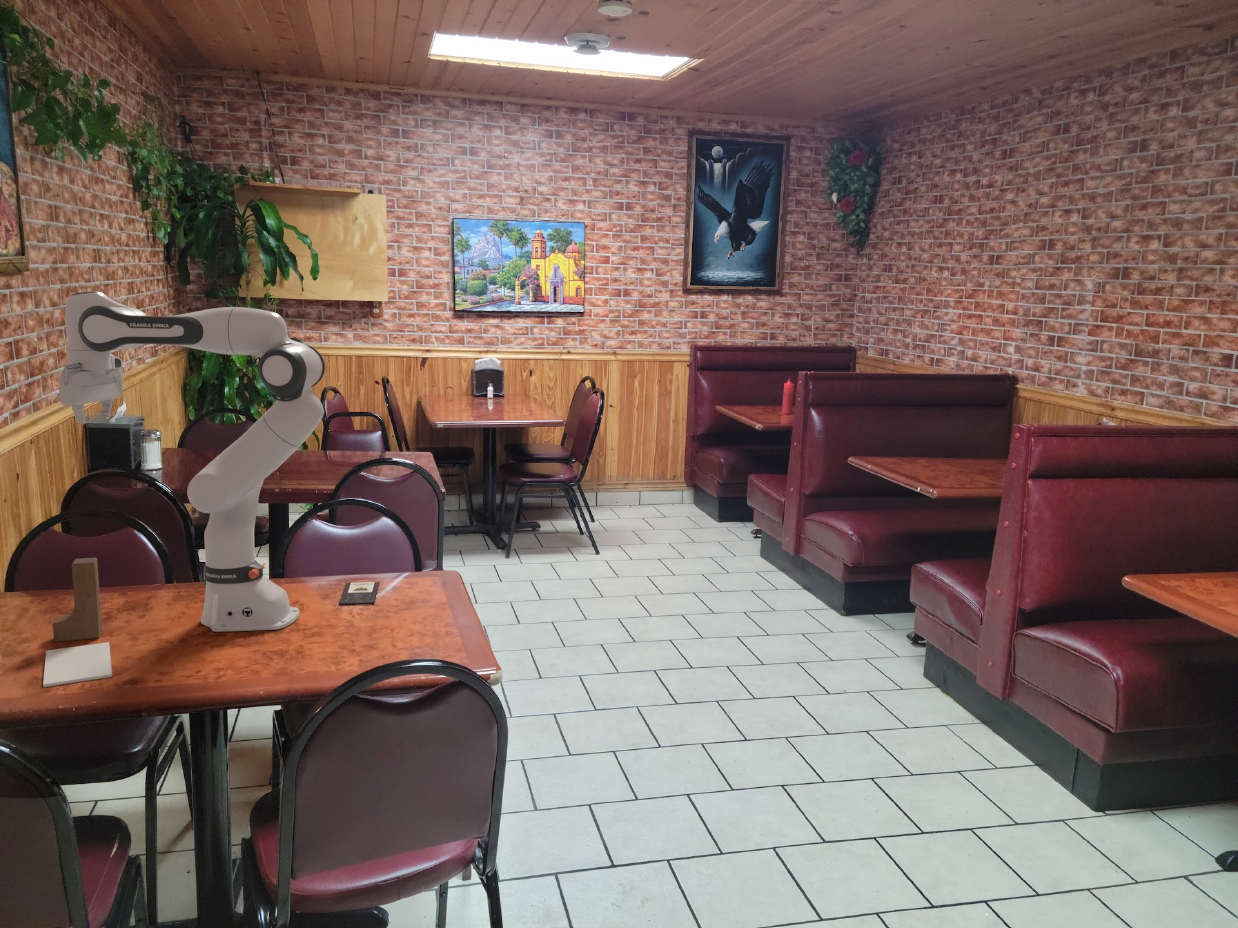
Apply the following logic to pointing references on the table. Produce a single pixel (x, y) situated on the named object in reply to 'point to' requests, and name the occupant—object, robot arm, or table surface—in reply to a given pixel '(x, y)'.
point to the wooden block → (82, 605)
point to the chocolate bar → (359, 593)
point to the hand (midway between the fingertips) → (93, 421)
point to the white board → (77, 664)
